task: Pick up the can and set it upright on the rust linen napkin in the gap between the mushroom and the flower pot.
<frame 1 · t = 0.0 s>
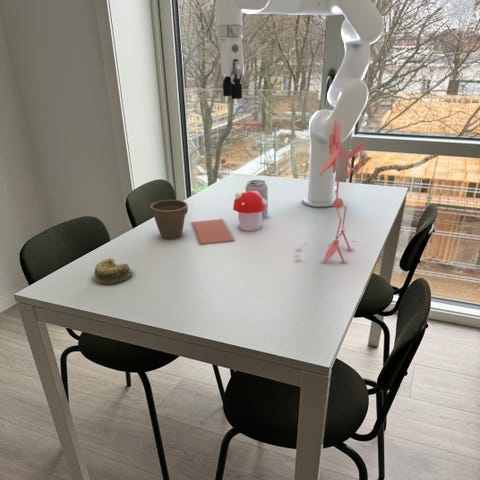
hand: (232, 97, 144), 37 cm above the table, tool pointing down, fingers open, 9 cm apart
can: (256, 216, 160), on the table
napkin: (212, 231, 148), on the table
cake: (113, 277, 121), on the table
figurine: (323, 253, 130), on the table
flower pot: (172, 236, 146), on the table
mushroom: (250, 228, 150), on the table
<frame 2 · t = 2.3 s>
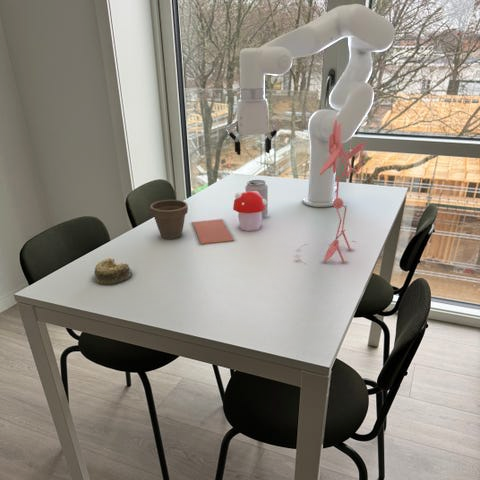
hand: (253, 153, 149), 21 cm above the table, tool pointing down, fingers open, 9 cm apart
nothing on the table moved.
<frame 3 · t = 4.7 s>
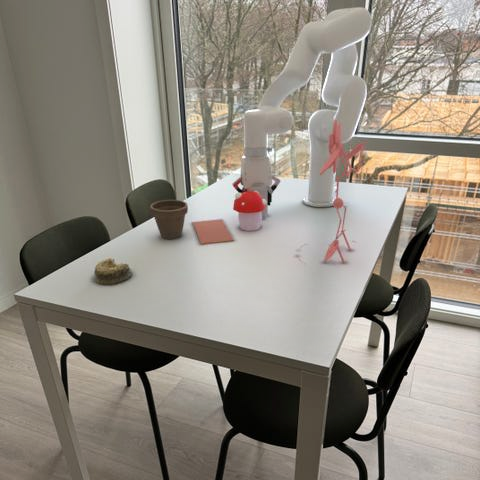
hand: (256, 205, 157), 4 cm above the table, tool pointing down, fingers closed on can, 7 cm apart
can: (256, 217, 160), on the table, touching gripper
everything else where it was.
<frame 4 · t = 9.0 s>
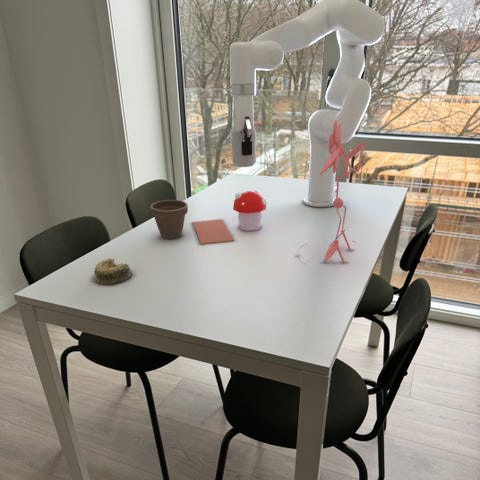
hand: (244, 152, 145), 22 cm above the table, tool pointing down, fingers closed on can, 7 cm apart
can: (244, 165, 147), point 18 cm above the table, touching gripper
everything else where it was.
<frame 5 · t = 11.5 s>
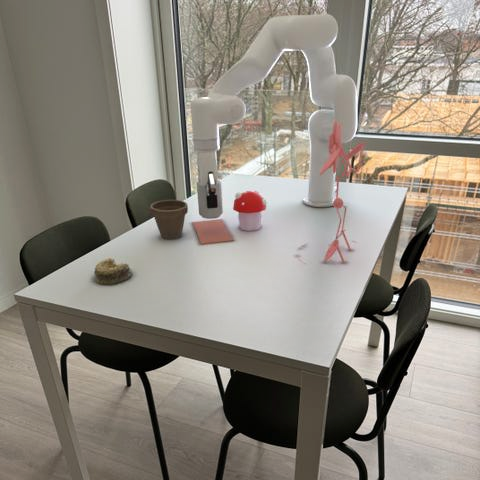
hand: (210, 203, 143), 9 cm above the table, tool pointing down, fingers closed on can, 7 cm apart
can: (211, 216, 145), point 5 cm above the table, touching gripper
everything else where it was.
when the fingers open (4 cm above the table, at t = 13.5 s): can stays where it is, resting on napkin.
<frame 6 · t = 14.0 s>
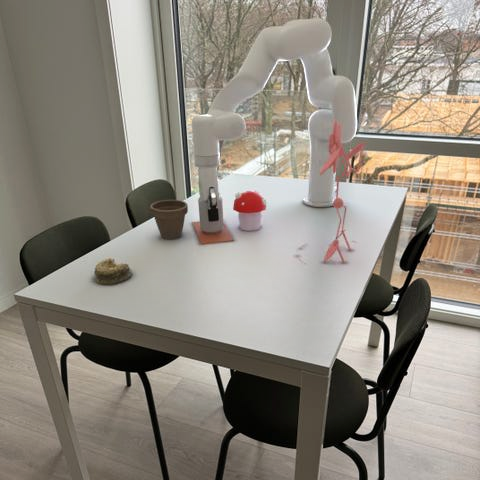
hand: (211, 216, 145), 5 cm above the table, tool pointing down, fingers open, 9 cm apart
can: (212, 231, 148), resting on napkin
everything else where it was.
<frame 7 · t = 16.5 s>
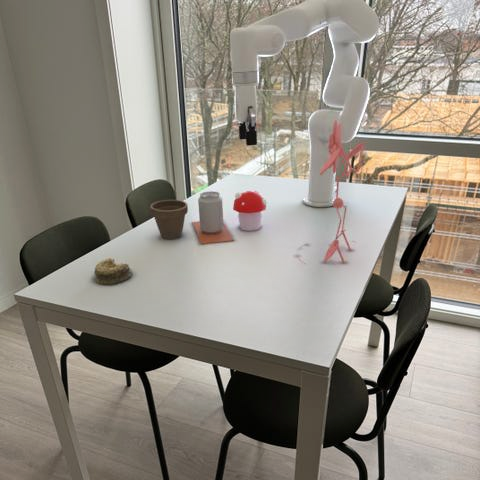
hand: (248, 142, 139), 26 cm above the table, tool pointing down, fingers open, 9 cm apart
nothing on the table moved.
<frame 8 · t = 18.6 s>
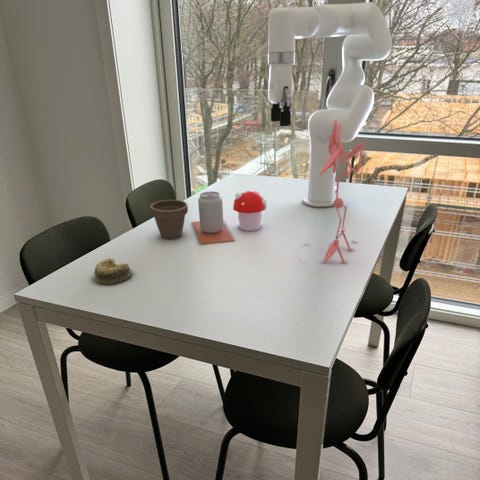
hand: (280, 123, 141), 30 cm above the table, tool pointing down, fingers open, 9 cm apart
nothing on the table moved.
at the end: can 0.1 cm off-centre on the napkin, point 0.1 cm above the napkin's base; can tilted 0°; the gripper is holding nothing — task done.
